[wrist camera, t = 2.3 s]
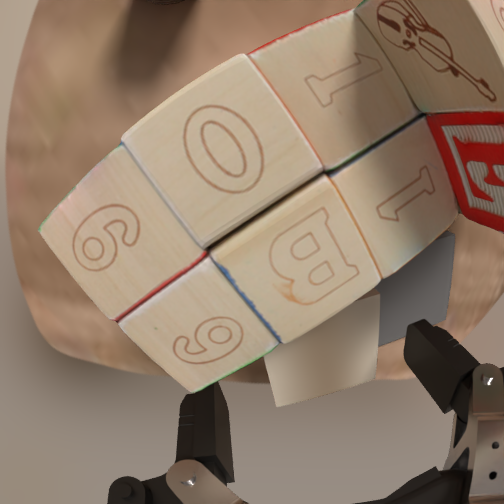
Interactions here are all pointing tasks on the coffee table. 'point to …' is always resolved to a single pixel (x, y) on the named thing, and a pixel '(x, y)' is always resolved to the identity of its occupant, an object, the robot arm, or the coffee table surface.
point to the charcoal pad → (417, 290)
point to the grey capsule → (164, 1)
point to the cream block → (328, 354)
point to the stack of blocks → (291, 182)
